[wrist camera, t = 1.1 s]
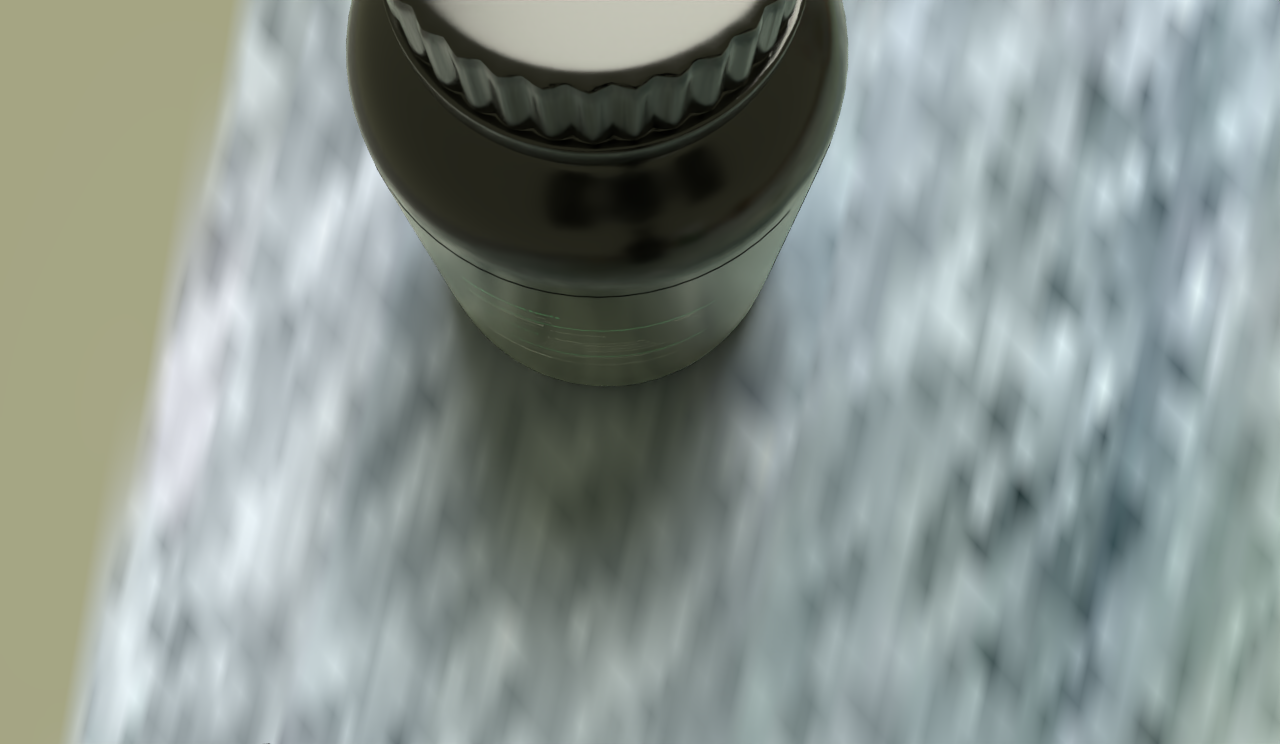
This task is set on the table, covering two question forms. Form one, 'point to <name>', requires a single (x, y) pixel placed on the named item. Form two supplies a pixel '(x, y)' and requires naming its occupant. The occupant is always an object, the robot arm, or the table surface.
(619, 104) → the supplement bottle
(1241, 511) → the table surface
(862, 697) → the table surface
